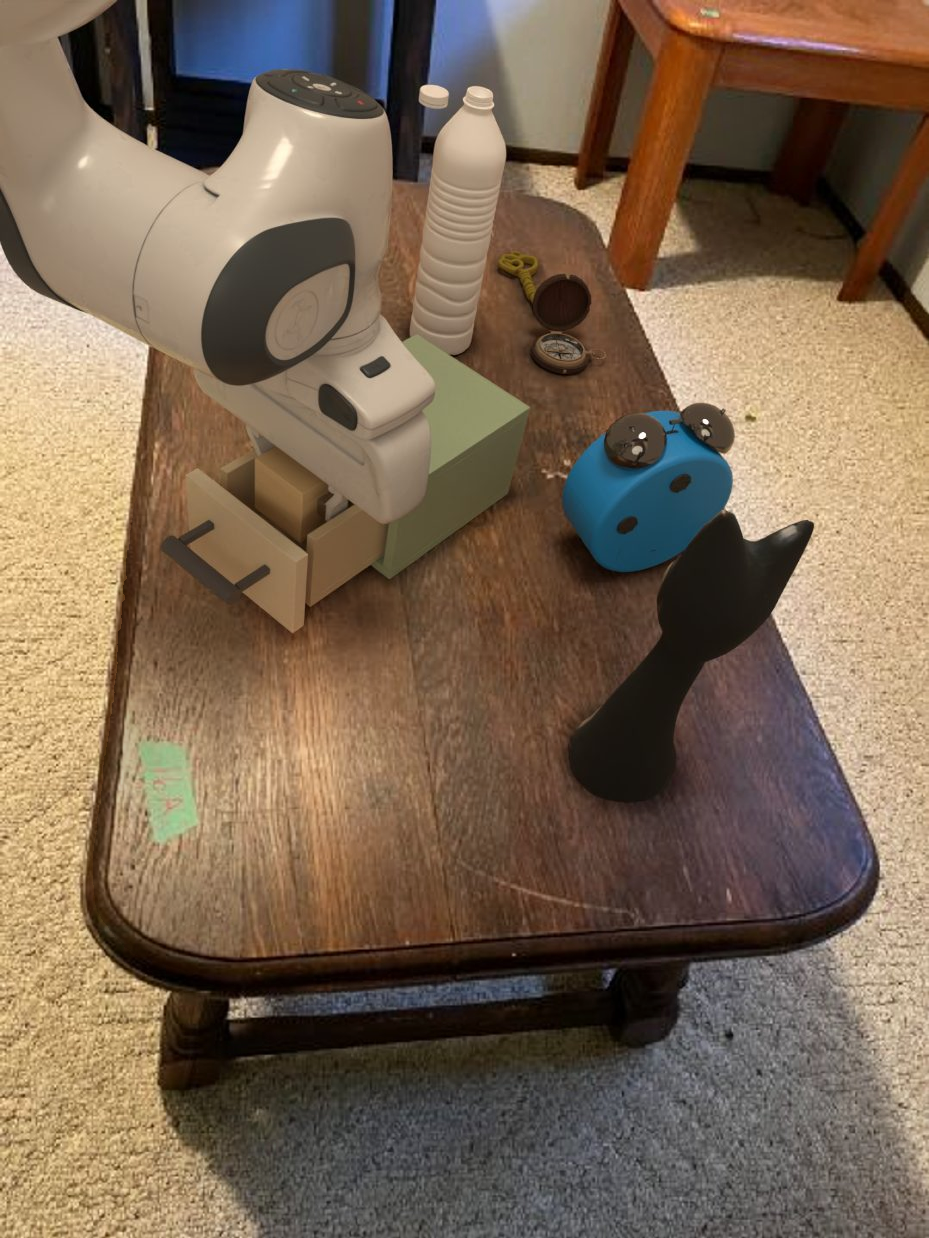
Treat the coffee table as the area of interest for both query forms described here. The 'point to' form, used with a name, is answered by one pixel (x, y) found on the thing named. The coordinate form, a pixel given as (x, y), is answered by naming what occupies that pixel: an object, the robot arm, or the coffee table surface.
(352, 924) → the coffee table surface
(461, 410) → the cabinet
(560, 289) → the compass
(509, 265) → the key
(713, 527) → the figurine
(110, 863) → the coffee table surface
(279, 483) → the block
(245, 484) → the drawer
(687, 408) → the alarm clock
